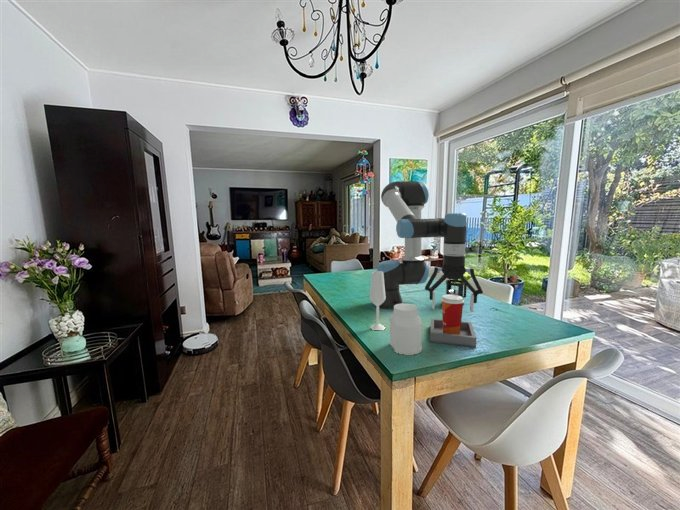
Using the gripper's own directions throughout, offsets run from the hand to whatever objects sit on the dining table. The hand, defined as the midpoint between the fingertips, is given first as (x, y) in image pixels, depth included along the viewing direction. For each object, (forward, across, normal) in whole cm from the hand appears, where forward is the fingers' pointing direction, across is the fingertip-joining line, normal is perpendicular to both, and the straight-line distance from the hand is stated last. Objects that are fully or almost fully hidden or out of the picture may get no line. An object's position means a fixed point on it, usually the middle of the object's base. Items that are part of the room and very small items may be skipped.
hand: (452, 309), depth 105 cm
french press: (+11, +4, +44) cm, 45 cm away
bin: (+11, 0, 0) cm, 11 cm away
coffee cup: (+10, 0, 0) cm, 10 cm away
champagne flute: (+11, -29, 0) cm, 31 cm away
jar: (+11, -16, -15) cm, 24 cm away
